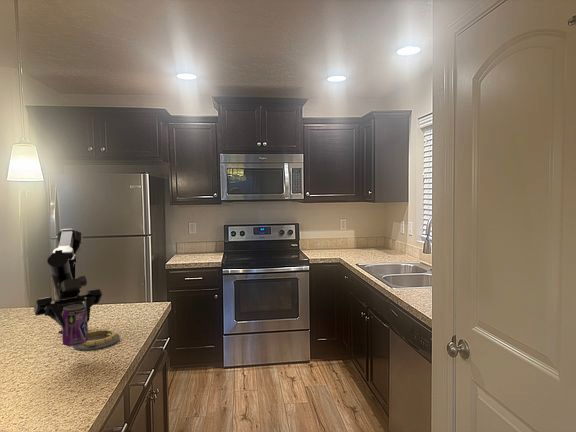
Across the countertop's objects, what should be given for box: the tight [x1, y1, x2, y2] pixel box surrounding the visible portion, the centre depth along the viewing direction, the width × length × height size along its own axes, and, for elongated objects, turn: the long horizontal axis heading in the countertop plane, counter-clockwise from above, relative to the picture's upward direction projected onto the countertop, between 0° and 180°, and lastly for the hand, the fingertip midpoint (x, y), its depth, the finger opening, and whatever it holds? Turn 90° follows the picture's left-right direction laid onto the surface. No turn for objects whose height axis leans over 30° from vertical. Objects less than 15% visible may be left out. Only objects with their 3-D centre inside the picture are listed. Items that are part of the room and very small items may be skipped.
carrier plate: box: [72, 329, 120, 352], centre depth 138 cm, size 15×15×2 cm
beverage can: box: [61, 304, 89, 348], centre depth 122 cm, size 7×7×12 cm
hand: (76, 323), depth 121 cm, fingers closed on beverage can, 7 cm apart
